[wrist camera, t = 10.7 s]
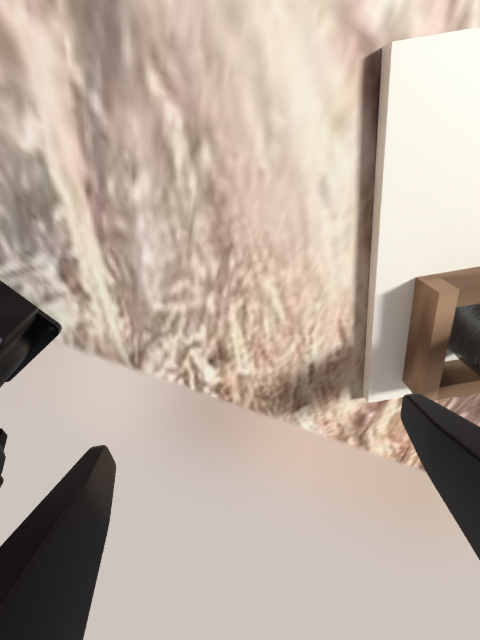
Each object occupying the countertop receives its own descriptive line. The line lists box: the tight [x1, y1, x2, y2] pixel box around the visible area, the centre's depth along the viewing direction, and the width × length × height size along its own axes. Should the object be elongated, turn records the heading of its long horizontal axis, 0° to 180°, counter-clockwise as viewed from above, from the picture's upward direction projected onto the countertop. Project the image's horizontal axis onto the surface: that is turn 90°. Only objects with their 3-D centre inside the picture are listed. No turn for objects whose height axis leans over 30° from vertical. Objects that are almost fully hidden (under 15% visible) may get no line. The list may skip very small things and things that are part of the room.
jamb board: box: [363, 27, 480, 403], centre depth 21 cm, size 23×14×1 cm, turn 8°
